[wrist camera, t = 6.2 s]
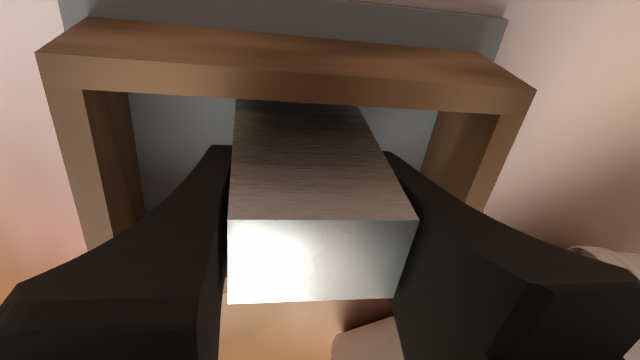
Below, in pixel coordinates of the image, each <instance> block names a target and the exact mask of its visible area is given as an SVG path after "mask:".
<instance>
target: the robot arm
mask: <svg viewBox="0 0 640 360" xmlns="http://www.w3.org/2000/svg"><path fill="white" fill-rule="evenodd" d="M232 146H233V145H211V146H210V147H209V148H208V149H207V151H206V152H205V154H204V155H203V157H202V158H201V159H200V161H199V162H198V163H197V165H196V166H195V167H194V168H193V170H192V171H191V172H190V173H189V174H188V175H187V177H186V178H185V179H184V180H183V181H182V182H181V183H180V184H179V185H178V186H177V187H176V188H175V189H174V190H173V191H172V192H171V193H170V194H169V195H168V196H167V197H166V198H165V199H164V200H163V201H162V202H161V203H160V204H159V205H158V206H157V207H155V208H154V209H153V210H152V211H151V212H149V213H148V214H147V215H146V216H144V217H143V218H142V219H140V220H139V221H137V222H136V223H134V224H133V225H131V226H130V227H128V228H127V229H125V230H124V231H122V232H121V233H119V234H118V235H116V236H115V237H113V238H112V239H110V240H108V241H106V242H105V243H103V244H101V245H99V246H98V247H96V248H94V249H92V250H90V251H88V252H86V253H84V254H82V255H81V256H79V257H77V258H75V259H73V260H71V261H68V262H66V263H64V264H62V265H60V266H57V267H55V268H53V269H51V270H48V271H46V272H44V273H42V274H39V275H37V276H35V277H32V278H30V279H28V280H25V281H23V282H20V283H18V284H17V285H16V286H15V287H14V289H13V290H12V291H11V293H10V294H9V295H8V297H7V298H6V299H5V300H4V302H3V303H2V304H1V306H0V360H218V350H219V332H220V315H221V303H222V295H223V289H224V282H225V276H226V270H227V217H228V203H229V189H230V174H231V160H232ZM382 152H383V153H384V155H385V157H386V159H387V161H388V163H389V164H390V166H391V168H392V170H393V172H394V174H395V176H396V177H397V179H398V181H399V183H400V185H401V187H402V189H403V190H404V192H405V194H406V196H407V198H408V200H409V201H410V203H411V205H412V207H413V209H414V211H415V213H416V214H417V216H418V218H419V220H420V221H419V224H418V227H417V230H416V233H415V236H414V239H413V242H412V245H411V247H410V250H409V253H408V256H407V259H406V262H405V265H404V268H403V271H402V274H401V277H400V280H399V282H398V285H397V288H396V291H395V294H394V297H393V298H389V300H390V303H391V307H392V311H393V315H394V319H395V323H396V327H397V330H398V335H399V339H400V343H401V348H402V352H403V357H404V360H625V359H624V358H623V356H624V355H625V354H626V353H627V352H628V351H629V350H630V349H631V348H632V347H633V346H634V344H635V343H636V342H637V341H638V340H639V339H640V280H639V279H638V278H637V277H636V276H635V275H634V274H633V273H632V272H631V271H629V270H628V269H626V268H623V267H620V266H616V265H613V264H610V263H606V262H603V261H600V260H596V259H593V258H589V257H586V256H583V255H580V254H577V253H574V252H571V251H568V250H565V249H562V248H560V247H557V246H554V245H551V244H549V243H546V242H544V241H541V240H539V239H536V238H534V237H531V236H529V235H527V234H524V233H522V232H520V231H518V230H515V229H513V228H511V227H509V226H507V225H505V224H503V223H500V222H498V221H496V220H494V219H493V218H491V217H489V216H487V215H485V214H483V213H481V212H480V211H478V210H476V209H474V208H472V207H471V206H469V205H467V204H466V203H464V202H462V201H461V200H459V199H458V198H456V197H455V196H453V195H452V194H450V193H448V192H447V191H445V190H444V189H443V188H441V187H440V186H438V185H437V184H435V183H434V182H433V181H431V180H430V179H428V178H427V177H426V176H424V175H423V174H422V173H420V172H419V171H417V170H416V169H415V168H413V167H412V166H411V165H409V164H408V163H407V162H405V161H404V160H402V159H401V158H400V157H398V156H397V155H395V154H393V153H392V152H390V151H382Z"/></svg>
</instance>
